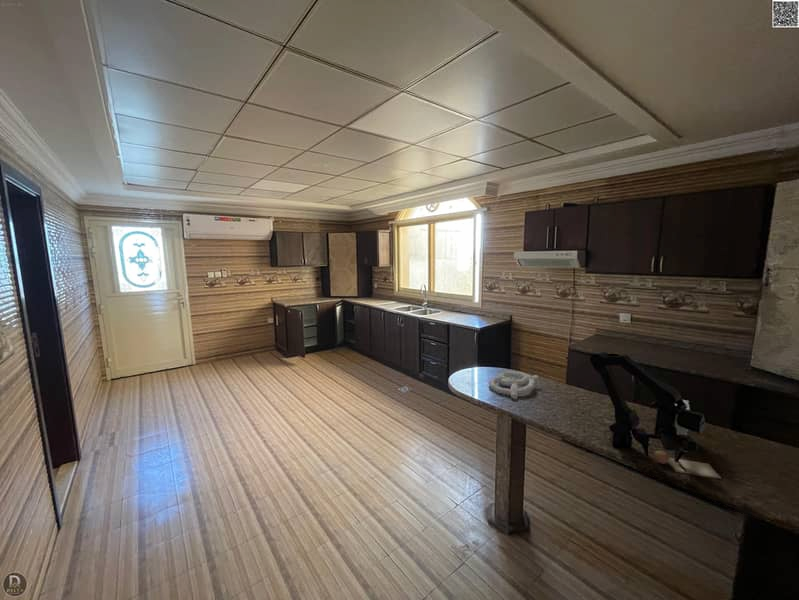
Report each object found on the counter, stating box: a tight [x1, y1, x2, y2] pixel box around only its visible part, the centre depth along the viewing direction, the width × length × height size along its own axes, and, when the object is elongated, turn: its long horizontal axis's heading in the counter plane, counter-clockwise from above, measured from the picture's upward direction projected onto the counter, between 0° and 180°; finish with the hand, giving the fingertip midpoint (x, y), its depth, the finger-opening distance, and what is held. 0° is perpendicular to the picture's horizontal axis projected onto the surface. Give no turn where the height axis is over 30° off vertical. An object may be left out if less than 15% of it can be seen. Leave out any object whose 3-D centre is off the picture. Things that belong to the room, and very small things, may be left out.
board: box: [667, 457, 722, 480], centre depth 120 cm, size 13×8×1 cm, turn 71°
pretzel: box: [488, 370, 540, 400], centre depth 190 cm, size 28×24×6 cm
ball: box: [653, 450, 670, 465], centre depth 123 cm, size 4×4×4 cm
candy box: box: [675, 399, 691, 436], centre depth 136 cm, size 14×6×16 cm, turn 141°
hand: (660, 459), depth 123 cm, fingers open, 9 cm apart
